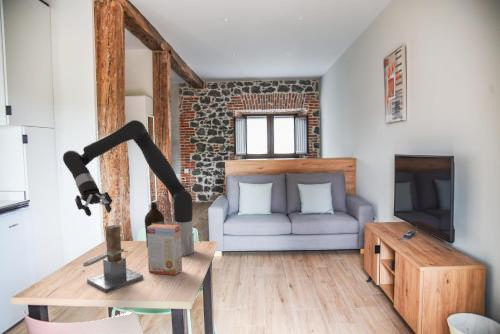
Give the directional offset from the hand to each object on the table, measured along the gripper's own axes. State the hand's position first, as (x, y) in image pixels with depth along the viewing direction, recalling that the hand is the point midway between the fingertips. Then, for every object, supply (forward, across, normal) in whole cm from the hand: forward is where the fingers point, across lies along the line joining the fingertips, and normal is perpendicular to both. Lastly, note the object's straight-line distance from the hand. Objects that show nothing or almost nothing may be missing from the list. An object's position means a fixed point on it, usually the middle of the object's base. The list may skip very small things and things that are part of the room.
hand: (100, 213), depth 135 cm
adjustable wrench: (+3, +12, +36) cm, 38 cm away
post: (+22, 0, +8) cm, 24 cm away
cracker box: (+34, +18, +5) cm, 39 cm away
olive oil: (+8, +38, +30) cm, 49 cm away
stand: (+27, 0, +12) cm, 29 cm away
